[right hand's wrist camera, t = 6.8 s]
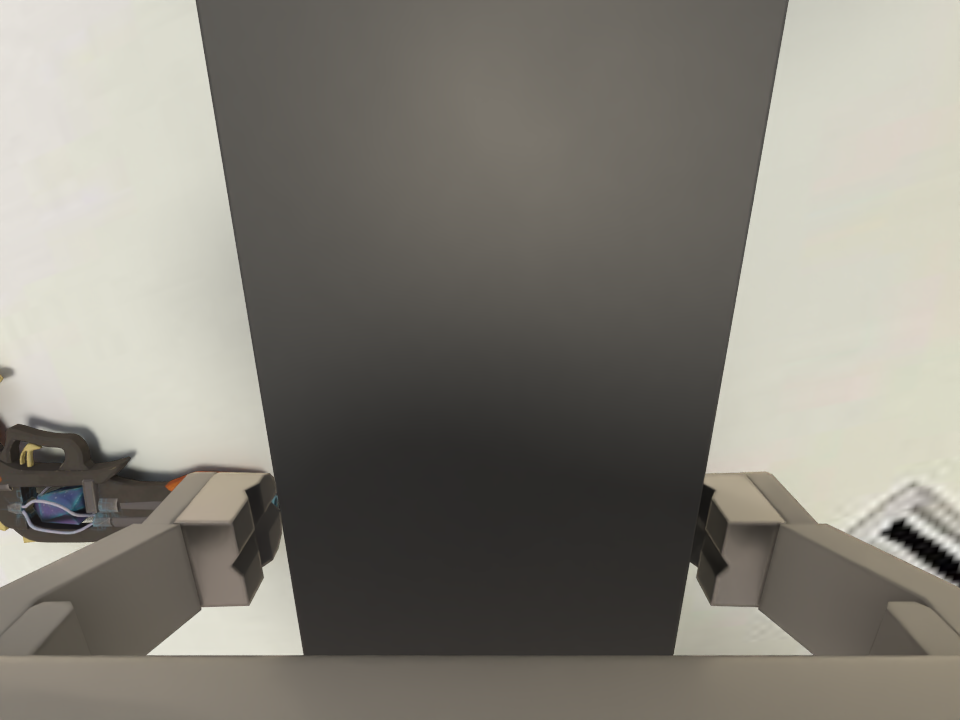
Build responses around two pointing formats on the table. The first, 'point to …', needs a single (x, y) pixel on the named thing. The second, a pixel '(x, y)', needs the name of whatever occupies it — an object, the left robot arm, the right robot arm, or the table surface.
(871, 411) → the table surface
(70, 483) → the toy gun
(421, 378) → the box
